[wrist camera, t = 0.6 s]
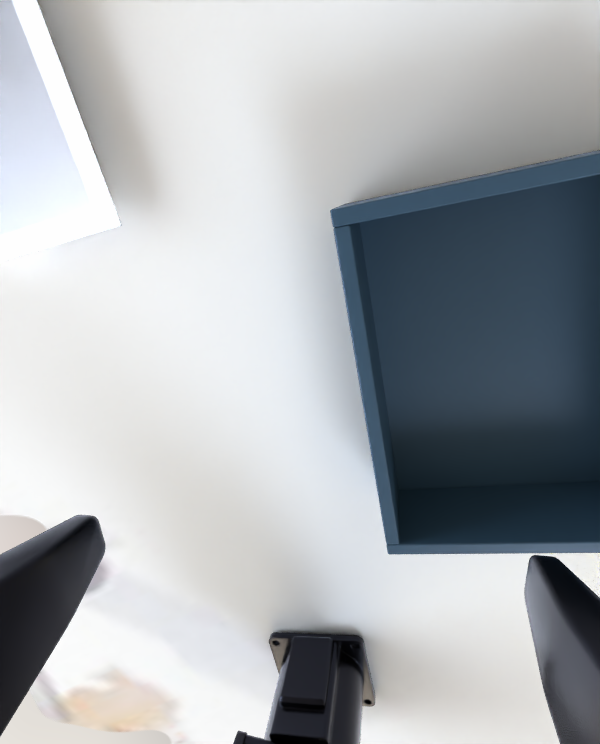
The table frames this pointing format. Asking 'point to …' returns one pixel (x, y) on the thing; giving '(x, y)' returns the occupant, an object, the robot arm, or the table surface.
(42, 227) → the touchpad
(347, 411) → the table surface
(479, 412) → the organiser tray
